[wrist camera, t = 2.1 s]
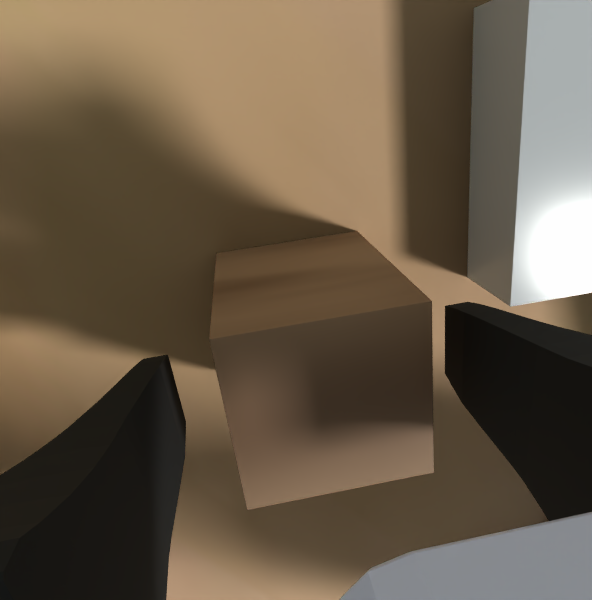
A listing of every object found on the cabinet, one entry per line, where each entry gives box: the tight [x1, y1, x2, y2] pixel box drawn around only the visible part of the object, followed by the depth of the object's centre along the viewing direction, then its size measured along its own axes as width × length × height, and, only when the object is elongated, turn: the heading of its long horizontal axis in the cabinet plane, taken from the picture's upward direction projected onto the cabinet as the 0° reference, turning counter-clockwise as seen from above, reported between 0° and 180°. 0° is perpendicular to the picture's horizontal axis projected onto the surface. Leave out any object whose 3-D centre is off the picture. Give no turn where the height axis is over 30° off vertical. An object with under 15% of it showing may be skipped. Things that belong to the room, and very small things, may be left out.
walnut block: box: [209, 231, 434, 510], centre depth 13 cm, size 4×4×6 cm
